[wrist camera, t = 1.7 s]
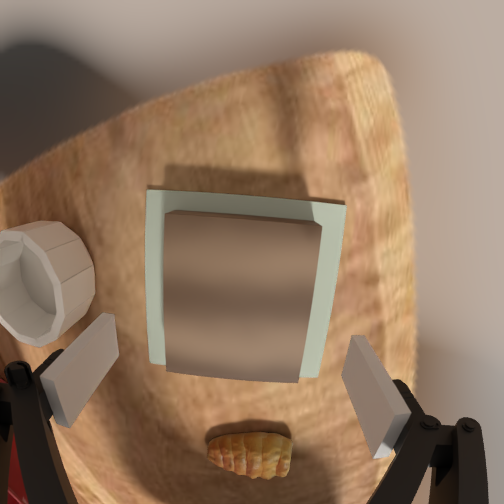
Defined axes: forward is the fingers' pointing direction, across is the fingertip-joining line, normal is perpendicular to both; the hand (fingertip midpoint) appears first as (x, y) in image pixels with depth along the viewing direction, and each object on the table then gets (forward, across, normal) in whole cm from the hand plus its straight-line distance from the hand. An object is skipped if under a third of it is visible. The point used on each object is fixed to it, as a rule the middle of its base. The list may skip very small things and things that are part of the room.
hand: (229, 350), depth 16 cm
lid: (+10, 0, 0) cm, 10 cm away
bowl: (+10, +18, 0) cm, 21 cm away
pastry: (+10, -3, +20) cm, 23 cm away
